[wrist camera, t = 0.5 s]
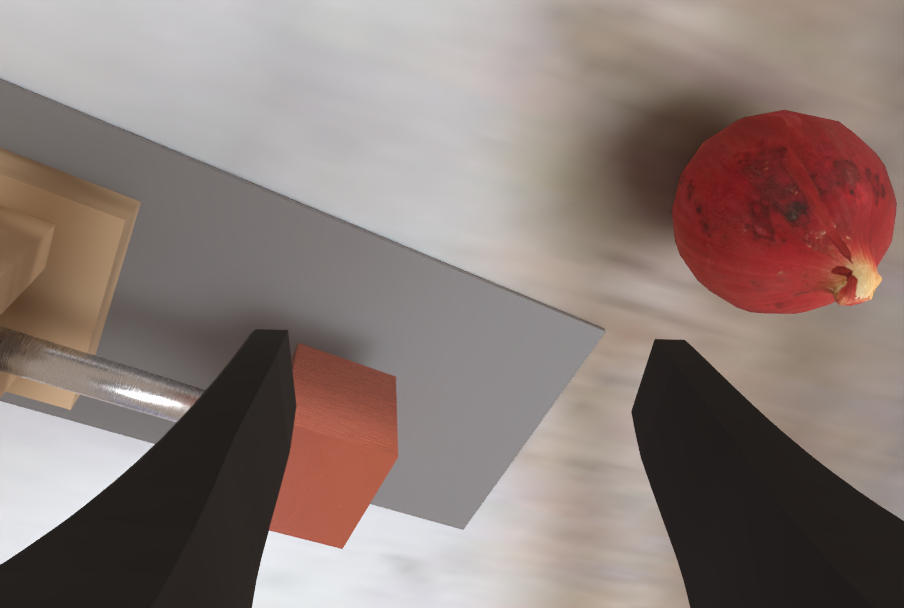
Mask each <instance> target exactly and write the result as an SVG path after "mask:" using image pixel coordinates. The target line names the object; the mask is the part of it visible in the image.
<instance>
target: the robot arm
mask: <svg viewBox="0 0 904 608" xmlns="http://www.w3.org/2000/svg"><path fill="white" fill-rule="evenodd" d="M631 412H632V417H633V422H634V427H635V433H636V438H637V442H638V446H639V451H640V455H641V459H642V462H643V465H644V468H645V471H646V474H647V476H648V479H649V482H650V485H651V488H652V491H653V494H654V496H655V499H656V502H657V505H658V507H659V510H660V513H661V516H662V518H663V521H664V524H665V527H666V530H667V532H668V535H669V538H670V541H671V543H672V546H673V549H674V552H675V555H676V557H677V560H678V564H679V567H680V570H681V573H682V577H683V580H684V584H685V588H686V592H687V596H688V600H689V604H690V608H904V521H903V520H901V519H900V518H898V517H897V516H895V515H893V514H892V513H890V512H889V511H887V510H886V509H884V508H882V507H881V506H879V505H878V504H876V503H875V502H873V501H872V500H871V499H869V498H868V497H866V496H865V495H863V494H862V493H860V492H859V491H857V490H856V489H855V488H853V487H852V486H851V485H849V484H848V483H847V482H845V481H844V480H843V479H841V478H840V477H838V476H837V475H836V474H834V473H833V472H832V471H830V470H829V469H828V468H826V467H825V466H824V465H822V464H821V463H820V462H819V461H817V460H816V459H815V458H813V457H812V456H811V455H810V454H808V453H807V452H806V451H805V450H804V449H802V448H801V447H800V446H799V445H798V444H796V443H795V442H794V441H793V440H792V439H791V438H789V437H788V436H787V435H786V434H785V433H783V432H782V431H781V430H780V429H779V428H778V427H777V426H775V425H774V424H773V423H772V422H771V421H770V420H769V419H768V418H766V417H765V416H764V415H763V414H762V413H761V412H760V411H759V410H758V409H757V408H755V407H754V406H753V405H752V404H751V403H750V402H749V401H748V400H747V399H746V398H745V397H744V396H743V395H742V394H741V393H740V392H739V391H737V390H736V389H735V388H734V387H733V386H732V385H731V384H730V383H729V382H728V381H727V380H726V379H725V378H724V377H723V376H722V375H721V374H720V373H719V372H718V371H717V370H716V369H715V368H714V367H713V366H712V365H711V364H710V363H709V362H708V361H707V360H706V359H705V358H703V357H702V356H701V355H700V354H699V353H698V352H697V351H696V350H695V349H694V348H693V347H692V346H691V345H690V344H689V343H688V342H686V341H685V340H664V339H655V340H654V343H653V346H652V350H651V353H650V356H649V359H648V362H647V365H646V368H645V371H644V374H643V377H642V380H641V383H640V387H639V390H638V393H637V396H636V399H635V402H634V405H633V408H632V411H631ZM295 413H296V397H295V388H294V379H293V370H292V361H291V353H290V344H289V335H288V330H270V329H255V330H254V331H253V332H252V333H251V334H250V335H249V336H248V338H247V339H246V340H245V342H244V343H243V344H242V346H241V347H240V348H239V350H238V351H237V352H236V354H235V355H234V356H233V357H232V359H231V360H230V361H229V363H228V364H227V365H226V366H225V368H224V369H223V370H222V371H221V372H220V374H219V375H218V376H217V377H216V379H215V380H214V381H213V382H212V383H211V384H210V386H209V387H208V388H207V389H206V390H205V391H204V393H203V394H202V395H201V396H200V397H199V398H198V400H197V401H196V402H195V403H194V404H193V405H192V406H191V408H190V409H189V410H188V411H187V412H186V413H185V414H184V415H183V416H182V417H181V418H180V419H179V420H178V421H177V422H176V423H175V424H174V426H173V427H172V428H171V429H170V430H169V431H168V432H167V433H166V434H165V435H164V436H163V437H162V438H161V439H160V440H159V441H158V442H157V443H156V444H155V445H154V446H153V447H152V448H151V449H150V450H149V451H148V452H147V453H146V454H145V455H143V456H142V457H141V458H140V459H139V460H138V461H137V462H136V463H135V464H134V465H133V466H131V467H130V468H129V469H128V470H127V471H126V472H125V473H124V474H122V475H121V476H120V477H119V478H118V479H117V480H116V481H114V482H113V483H112V484H111V485H110V486H108V487H107V488H106V489H105V490H103V491H102V492H101V493H100V494H98V495H97V496H96V497H95V498H94V499H92V500H91V501H90V502H89V503H87V504H86V505H85V506H84V507H82V508H81V509H80V510H78V511H77V512H76V513H75V514H73V515H72V516H71V517H69V518H68V519H67V520H65V521H64V522H63V523H61V524H60V525H58V526H57V527H56V528H54V529H53V530H51V531H50V532H48V533H47V534H46V535H44V536H43V537H41V538H40V539H38V540H37V541H35V542H34V543H33V544H31V545H30V546H28V547H27V548H25V549H24V550H22V551H21V552H19V553H18V554H16V555H15V556H13V557H12V558H10V559H9V560H7V561H6V562H4V563H3V564H1V565H0V608H252V603H253V597H254V591H255V585H256V579H257V575H258V570H259V566H260V562H261V557H262V553H263V550H264V546H265V542H266V539H267V535H268V531H269V528H270V524H271V520H272V517H273V513H274V510H275V506H276V502H277V499H278V495H279V491H280V488H281V484H282V480H283V476H284V473H285V469H286V465H287V461H288V457H289V454H290V448H291V441H292V434H293V428H294V420H295Z"/></svg>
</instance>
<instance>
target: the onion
mask: <svg viewBox="0 0 904 608" xmlns="http://www.w3.org/2000/svg"><path fill="white" fill-rule="evenodd" d="M896 205H897V203H896V198H895V194H894V191H893V188H892V185H891V182H890V179H889V176H888V173H887V170H886V167H885V165H884V164H883V162H882V161H881V159H880V158H879V157H878V155H877V154H876V152H874V151H873V150H872V149H871V148H870V147H869V146H868V145H867V144H866V143H865V142H863V141H862V140H861V139H860V138H859V137H858V136H857V135H856V134H855V133H853V132H852V131H851V130H849V129H848V128H847V127H845V126H844V125H843V124H841V123H840V122H839V121H834V120H830V119H825V118H820V117H815V116H811V115H806V114H801V113H797V112H792V111H787V110H781V111H776V112H770V113H765V114H760V115H754V116H749V117H744V118H742V119H740V120H737V121H735V122H733V123H732V124H730V125H729V126H727V127H726V128H724V129H723V130H721V131H720V132H718V133H716V134H715V135H713V136H712V137H710V138H709V139H707V140H706V141H704V142H703V143H702V144H701V146H700V147H699V149H698V150H697V152H696V153H695V154H694V156H693V157H692V159H691V160H690V162H689V163H688V165H687V166H686V167H685V169H684V170H683V172H682V174H681V176H680V179H679V183H678V187H677V191H676V195H675V199H674V203H673V208H672V218H673V226H674V235H675V242H676V245H677V248H678V251H679V253H680V256H681V257H682V259H683V260H684V261H685V263H686V264H687V266H688V267H689V269H690V270H691V272H692V273H693V274H694V276H695V277H696V279H697V280H698V281H699V282H700V283H701V284H702V285H704V286H705V287H706V288H707V289H708V290H709V291H711V292H713V293H714V294H716V295H718V296H719V297H721V298H722V299H724V300H726V301H727V302H729V303H731V304H732V305H734V306H735V307H737V308H740V309H743V310H746V311H749V312H755V313H778V314H796V313H802V312H806V311H809V310H813V309H816V308H819V307H822V306H826V305H829V304H831V303H833V302H835V301H836V302H837V303H838V304H839V305H848V306H851V305H855V304H859V303H862V302H865V301H868V300H871V299H872V297H873V294H874V291H875V289H876V288H877V286H878V285H879V283H880V282H881V281H882V278H881V276H880V275H879V274H878V272H877V266H878V264H879V263H880V261H881V259H882V258H883V256H884V255H885V253H886V251H887V250H888V248H889V246H890V244H891V241H892V237H893V230H894V223H895V216H896Z"/></svg>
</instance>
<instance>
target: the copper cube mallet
mask: <svg viewBox="0 0 904 608" xmlns="http://www.w3.org/2000/svg"><path fill="white" fill-rule="evenodd" d="M291 361H292V370H293V379H294V388H295V397H296V413H295V420H294V428H293V434H292V441H291V448H290V454H289V457H288V461H287V465H286V469H285V473H284V476H283V480H282V484H281V488H280V491H279V495H278V499H277V502H276V506H275V510H274V513H273V517H272V520H271V524H270V528H269V530H270V531H274V532H278V533H282V534H286V535H290V536H294V537H298V538H302V539H305V540H309V541H313V542H317V543H321V544H325V545H329V546H333V547H337V548H341V549H343V547H344V545H345V544H346V542H347V540H348V539H349V537H350V535H351V534H352V532H353V531H354V529H355V527H356V526H357V524H358V522H359V521H360V519H361V517H362V516H363V514H364V512H365V511H366V509H367V508H368V506H369V504H370V503H371V501H372V499H373V498H374V496H375V494H376V493H377V491H378V489H379V488H380V486H381V485H382V483H383V481H384V480H385V478H386V476H387V475H388V473H389V471H390V470H391V468H392V467H393V465H394V463H395V462H396V460H397V458H398V429H397V393H396V376H393V375H390V374H387V373H384V372H381V371H378V370H375V369H373V368H370V367H367V366H364V365H361V364H358V363H355V362H352V361H350V360H347V359H344V358H341V357H338V356H335V355H332V354H329V353H326V352H324V351H321V350H318V349H315V348H312V347H309V346H306V345H303V344H300V343H298V345H297V347H296V349H295V351H294V353H293V356H292V358H291ZM0 371H2V372H5V373H9V374H12V375H15V376H19V377H22V378H26V379H29V380H33V381H36V382H39V383H43V384H46V385H50V386H53V387H57V388H60V389H64V390H67V391H70V392H74V393H77V394H81V395H84V396H88V397H91V398H94V399H98V400H101V401H105V402H108V403H112V404H115V405H119V406H122V407H125V408H129V409H132V410H136V411H139V412H143V413H146V414H149V415H153V416H156V417H160V418H163V419H167V420H170V421H173V422H177V421H178V420H179V419H180V418H181V417H182V416H183V415H184V414H185V413H186V412H187V411H188V410H189V409H190V408H191V406H192V405H193V404H194V403H195V402H196V401H197V400H198V398H199V397H200V396H201V395H202V394H203V393H204V391H205V389H201V388H198V387H195V386H192V385H189V384H185V383H182V382H179V381H176V380H172V379H169V378H166V377H163V376H159V375H156V374H153V373H150V372H147V371H143V370H140V369H137V368H134V367H130V366H127V365H124V364H121V363H118V362H114V361H111V360H108V359H105V358H101V357H98V356H95V355H92V354H89V353H85V352H82V351H79V350H76V349H72V348H69V347H66V346H63V345H60V344H56V343H53V342H50V341H47V340H43V339H40V338H37V337H34V336H30V335H27V334H24V333H21V332H18V331H14V330H11V329H8V328H5V327H1V326H0Z"/></svg>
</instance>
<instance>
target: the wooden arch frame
mask: <svg viewBox="0 0 904 608" xmlns="http://www.w3.org/2000/svg"><path fill="white" fill-rule="evenodd" d="M140 204H141V202H140V201H138V200H135V199H132V198H130V197H127V196H125V195H122V194H119V193H117V192H114V191H112V190H109V189H106V188H104V187H101V186H99V185H96V184H93V183H91V182H88V181H86V180H83V179H80V178H78V177H75V176H73V175H70V174H68V173H65V172H62V171H60V170H57V169H55V168H52V167H49V166H47V165H44V164H42V163H39V162H36V161H34V160H31V159H29V158H26V157H23V156H21V155H18V154H16V153H13V152H10V151H8V150H5V149H3V148H0V326H1V327H5V328H8V329H11V330H14V331H18V332H21V333H24V334H27V335H30V336H34V337H37V338H40V339H43V340H47V341H50V342H53V343H56V344H60V345H63V346H66V347H69V348H72V349H76V350H79V351H82V352H85V353H89V354H92V355H96V352H97V348H98V345H99V342H100V338H101V335H102V331H103V328H104V325H105V321H106V318H107V315H108V311H109V308H110V305H111V301H112V298H113V295H114V291H115V288H116V284H117V281H118V278H119V274H120V271H121V268H122V264H123V261H124V258H125V254H126V251H127V248H128V244H129V241H130V237H131V234H132V231H133V227H134V224H135V221H136V217H137V214H138V211H139V207H140ZM5 392H9V393H13V394H16V395H20V396H23V397H27V398H30V399H34V400H37V401H41V402H44V403H48V404H51V405H55V406H59V407H62V408H66V409H69V410H71V408H72V407H73V405H74V404H75V402H76V400H77V399H78V397H79V396H80V394H77V393H74V392H70V391H67V390H64V389H60V388H57V387H53V386H50V385H46V384H43V383H39V382H36V381H33V380H29V379H26V378H22V377H19V376H15V375H12V374H9V373H5V372H2V371H0V398H1V397H2V395H3V394H4V393H5Z"/></svg>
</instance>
